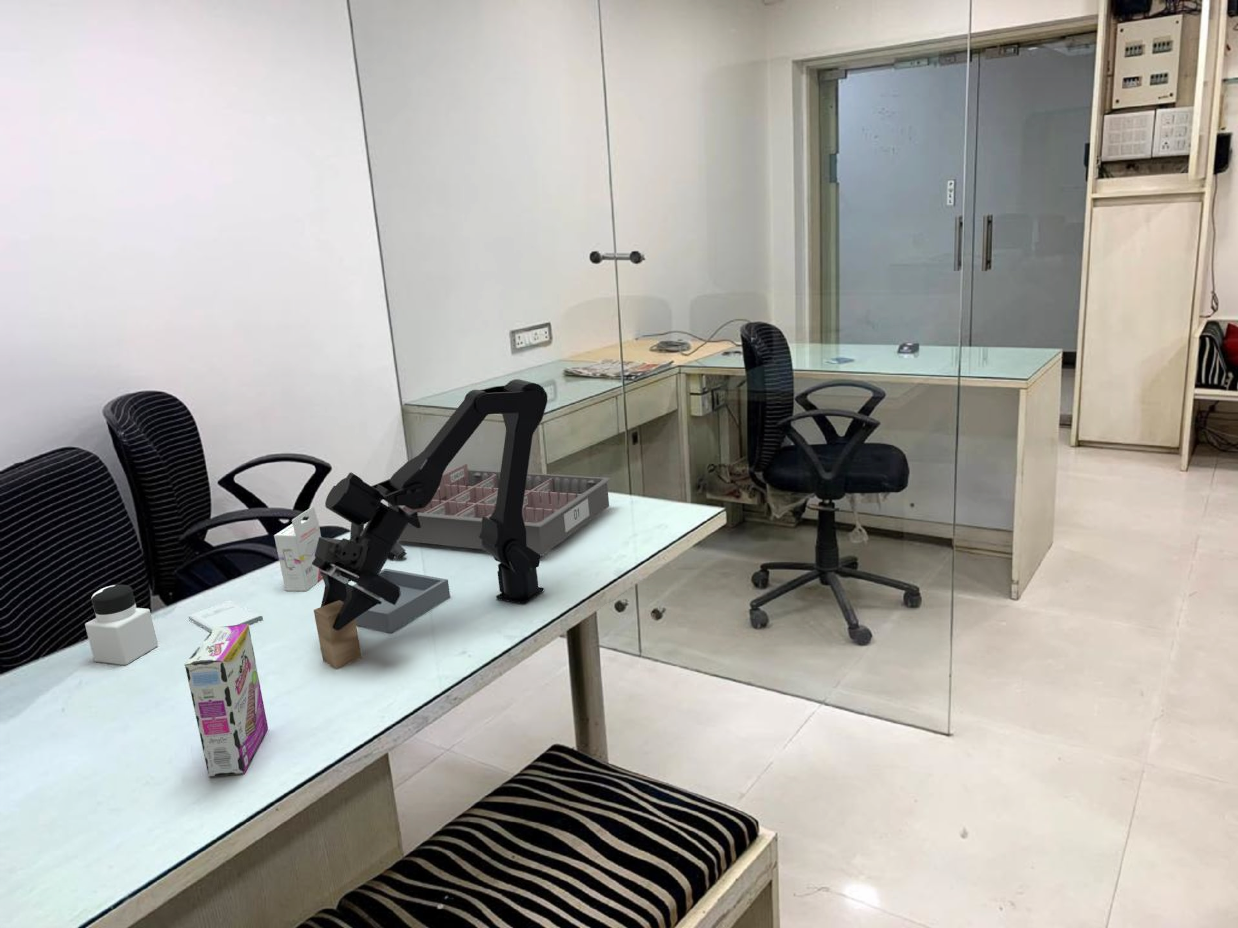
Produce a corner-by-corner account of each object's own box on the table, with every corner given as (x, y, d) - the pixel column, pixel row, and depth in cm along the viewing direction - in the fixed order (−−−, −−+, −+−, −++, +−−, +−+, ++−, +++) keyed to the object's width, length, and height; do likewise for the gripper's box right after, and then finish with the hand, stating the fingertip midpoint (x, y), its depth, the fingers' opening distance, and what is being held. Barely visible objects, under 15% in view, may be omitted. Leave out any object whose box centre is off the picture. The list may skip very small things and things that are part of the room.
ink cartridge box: (306, 574, 185) (293, 505, 181) (328, 574, 184) (316, 505, 180) (283, 591, 177) (269, 520, 173) (306, 591, 176) (293, 519, 172)
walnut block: (348, 650, 151) (339, 600, 148) (362, 658, 147) (353, 606, 145) (322, 660, 148) (313, 609, 145) (336, 669, 144) (327, 617, 142)
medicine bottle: (159, 646, 158) (144, 581, 155) (125, 665, 151) (109, 599, 148) (127, 642, 160) (112, 579, 157) (93, 662, 154) (76, 596, 150)
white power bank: (219, 640, 159) (189, 622, 168) (264, 623, 165) (233, 606, 173) (217, 632, 159) (187, 614, 167) (262, 614, 165) (231, 598, 173)
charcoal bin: (450, 596, 168) (447, 579, 167) (390, 633, 155) (387, 614, 154) (387, 585, 176) (385, 568, 175) (326, 618, 163) (322, 600, 162)
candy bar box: (247, 774, 118) (222, 660, 114) (207, 779, 118) (181, 665, 113) (271, 727, 129) (249, 621, 124) (235, 731, 129) (212, 625, 124)
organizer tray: (544, 563, 181) (539, 516, 178) (385, 546, 198) (378, 502, 195) (614, 511, 208) (610, 469, 206) (468, 499, 226) (463, 461, 223)
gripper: (313, 505, 150) (260, 590, 146) (371, 527, 137) (316, 620, 133) (363, 536, 158) (314, 617, 153) (423, 559, 145) (372, 649, 140)
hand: (327, 625), depth 145 cm, fingers closed on walnut block, 4 cm apart
